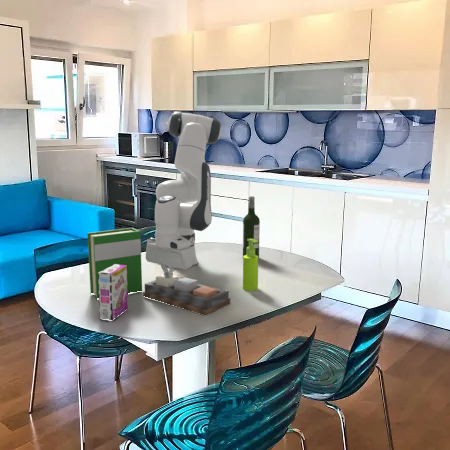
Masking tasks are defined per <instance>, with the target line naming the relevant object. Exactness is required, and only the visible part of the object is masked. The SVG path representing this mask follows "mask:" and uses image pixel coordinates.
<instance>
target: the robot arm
mask: <svg viewBox="0 0 450 450" xmlns="http://www.w3.org/2000/svg"><path fill="white" fill-rule="evenodd" d="M168 118H169V119H168V120H167V130H168V133H169V135H170V136H172V137H174V138H177V139H178V138H179V139H178V142H177V146H176V152H175V158H174V167H175V169H176V170H177V171H179V172H180V177H179V179H170V180H168V179H167V180H165V181H163V182H161V183H159V184H158V185H157V186H156V189H155V196H156V197H155V198H156V201H155V205H154V223H155V231H154V232H155V233H154V234H155V235H154V237H155V238H154V237H149V238H148V239H147V240H146V249H145V260H146V262H147V263H153V264H157V265H161V266H160V267H161V270H162V271H163V274H164V276H165V277H170V278H171V277H173V275H174V272H175V270H176V269H181V270H188V269H190V268H191V267H192V266H194V265H197V264H198V263H199V261H198V258H197V252H196V245H195V243H196V233H195V231H197V232H198V231H199V232H203V231H204V230H206V229H207V228H208V227H209V226H210V225H211V224H212V220H213V217H212V215H213V214H212V206H211V204H212V203H211V197H212V195H211V194H212V193H211V192H212V191H211V189H212V187H211V186H212V185H211V184H212V179H211V178H212V176H211V168H210V166H209V164H208V163H207V162H206V160H205V157H206V156H205V154H206V149H207V145H212V144H213V145H214V144H215V143H217V142H218V141H219V139H220V138H221V135H222V131H223V130H222V124H221V122H220V120H218V119H217V118H213V117H212V118H211V117H208V116H205V115H202V114H195V113H190V112H182V111H173V113H171V115H170V116H169V117H168Z"/></svg>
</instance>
